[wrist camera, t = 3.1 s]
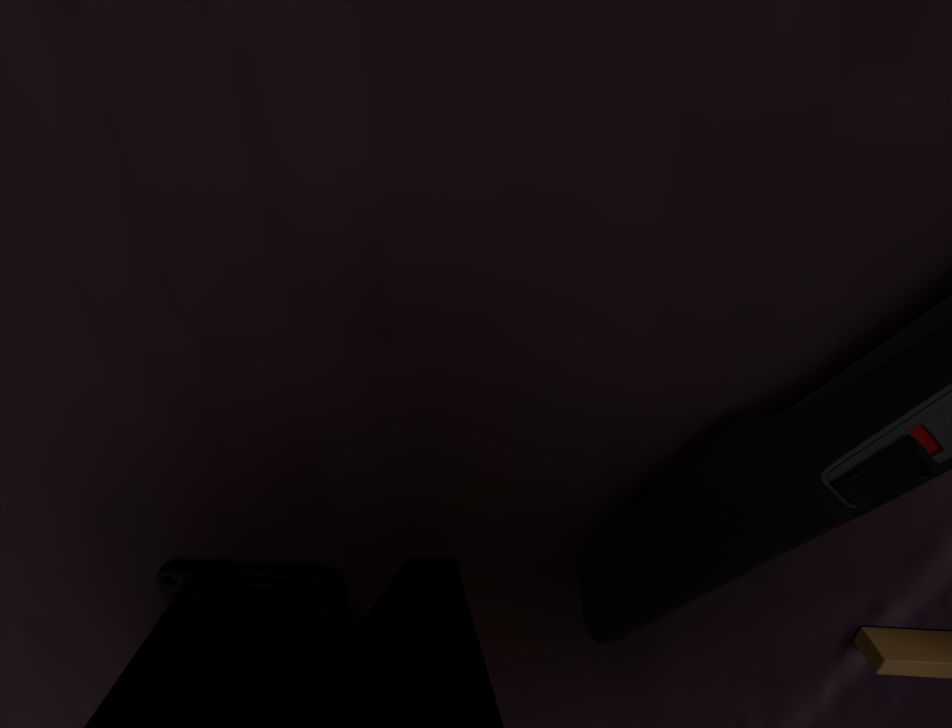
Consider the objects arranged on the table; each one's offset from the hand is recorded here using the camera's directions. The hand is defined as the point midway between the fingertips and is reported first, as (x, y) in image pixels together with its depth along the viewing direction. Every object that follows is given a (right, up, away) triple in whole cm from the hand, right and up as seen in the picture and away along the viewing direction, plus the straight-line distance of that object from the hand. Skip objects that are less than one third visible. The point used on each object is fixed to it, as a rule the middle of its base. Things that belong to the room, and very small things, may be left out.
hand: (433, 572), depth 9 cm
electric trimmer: (+10, +2, +5) cm, 11 cm away
